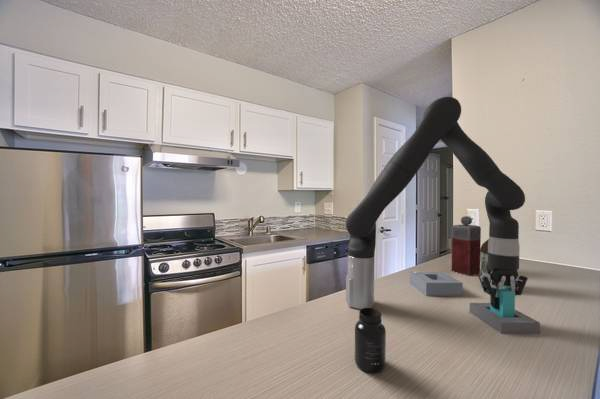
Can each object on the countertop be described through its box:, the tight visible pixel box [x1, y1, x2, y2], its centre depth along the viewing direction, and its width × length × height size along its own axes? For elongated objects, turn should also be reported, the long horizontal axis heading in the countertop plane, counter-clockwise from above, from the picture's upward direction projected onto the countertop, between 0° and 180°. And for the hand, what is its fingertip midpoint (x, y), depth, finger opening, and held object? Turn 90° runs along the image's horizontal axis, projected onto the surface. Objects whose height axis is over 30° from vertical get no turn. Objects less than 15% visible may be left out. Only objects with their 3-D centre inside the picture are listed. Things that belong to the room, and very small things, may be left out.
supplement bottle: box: [354, 307, 387, 374], centre depth 58 cm, size 7×7×12 cm
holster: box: [468, 302, 541, 334], centre depth 78 cm, size 11×13×3 cm
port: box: [409, 271, 464, 297], centre depth 105 cm, size 14×14×5 cm
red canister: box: [450, 215, 482, 277], centre depth 128 cm, size 9×11×28 cm
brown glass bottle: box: [480, 238, 498, 286], centre depth 106 cm, size 11×11×25 cm
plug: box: [489, 287, 516, 317], centre depth 78 cm, size 4×5×10 cm
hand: (502, 308), depth 78 cm, fingers closed on plug, 3 cm apart
